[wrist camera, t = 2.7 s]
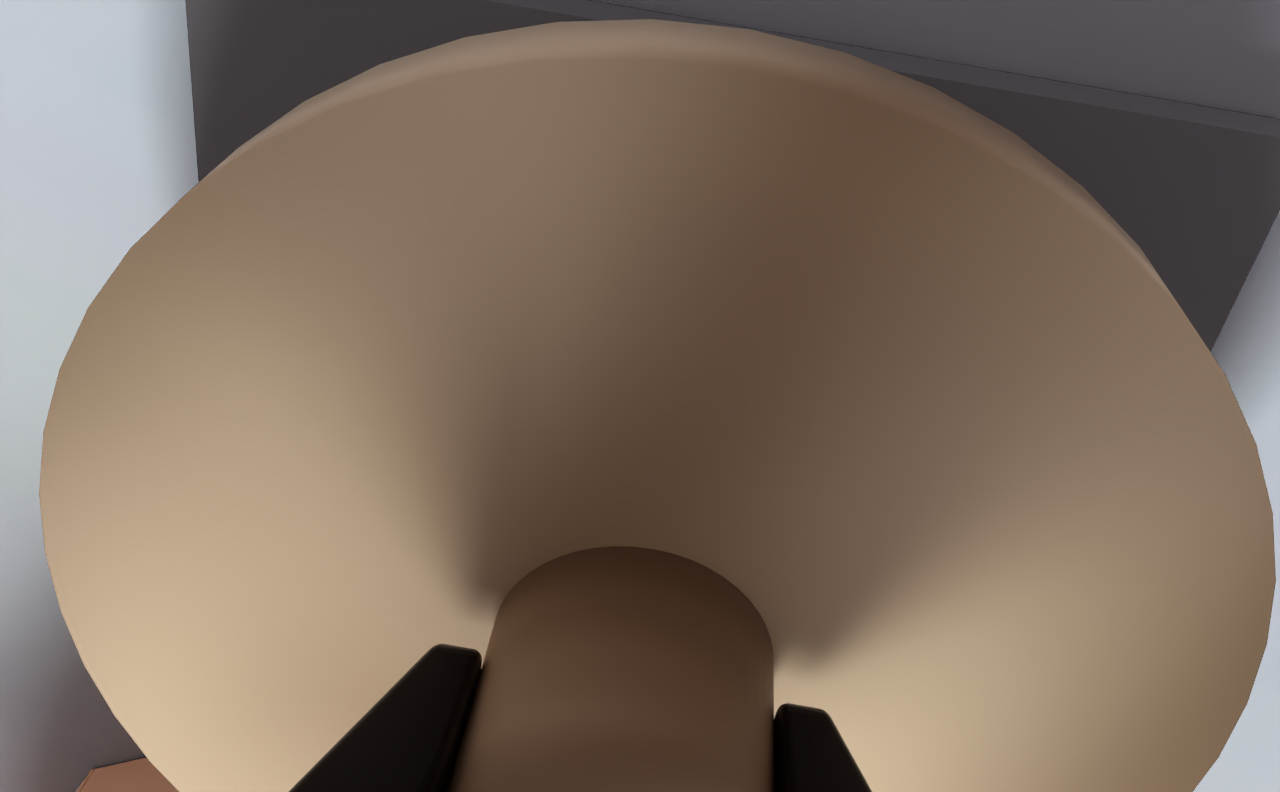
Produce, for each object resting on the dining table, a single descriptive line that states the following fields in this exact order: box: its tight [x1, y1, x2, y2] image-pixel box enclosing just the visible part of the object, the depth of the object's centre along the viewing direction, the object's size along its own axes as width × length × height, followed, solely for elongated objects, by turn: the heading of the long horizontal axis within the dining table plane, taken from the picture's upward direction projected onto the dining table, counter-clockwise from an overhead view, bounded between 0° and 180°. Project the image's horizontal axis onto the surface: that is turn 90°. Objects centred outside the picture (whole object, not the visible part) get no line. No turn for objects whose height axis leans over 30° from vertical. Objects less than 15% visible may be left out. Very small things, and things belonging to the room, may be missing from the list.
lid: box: [39, 19, 1276, 792], centre depth 9 cm, size 11×11×5 cm
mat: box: [186, 0, 1280, 351], centre depth 13 cm, size 10×10×1 cm
